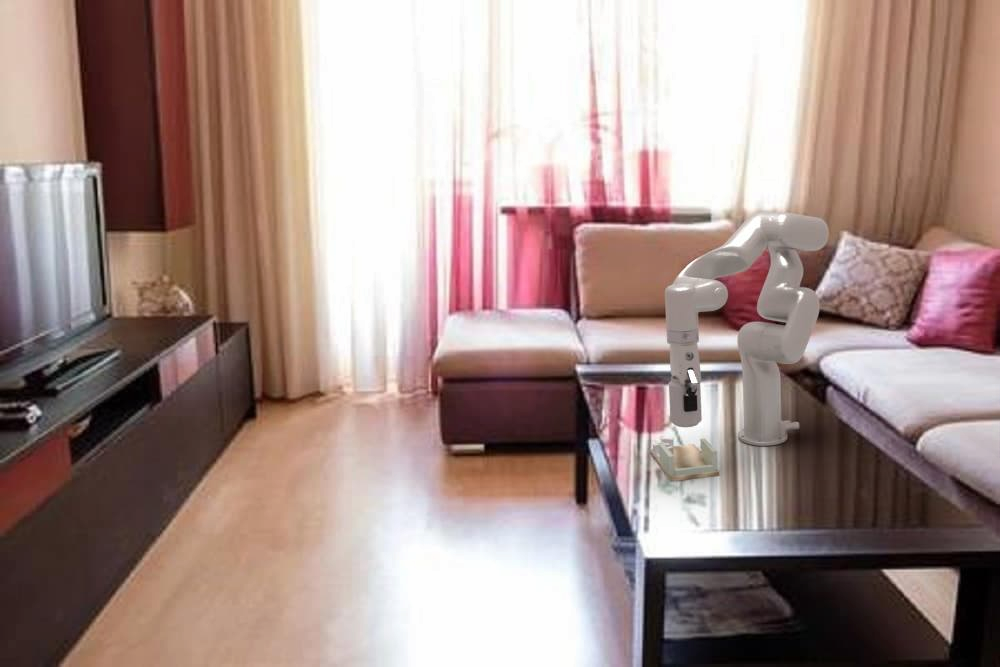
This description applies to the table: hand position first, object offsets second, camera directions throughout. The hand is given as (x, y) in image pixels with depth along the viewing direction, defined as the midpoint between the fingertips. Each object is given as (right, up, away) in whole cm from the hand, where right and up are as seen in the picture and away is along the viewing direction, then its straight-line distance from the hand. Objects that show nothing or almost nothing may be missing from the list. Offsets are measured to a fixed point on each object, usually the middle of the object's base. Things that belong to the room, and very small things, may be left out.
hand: (685, 405), depth 216 cm
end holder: (+1, -15, +3) cm, 16 cm away
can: (0, -5, +1) cm, 5 cm away
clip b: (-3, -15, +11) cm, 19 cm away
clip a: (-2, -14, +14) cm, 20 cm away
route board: (+1, -15, +8) cm, 17 cm away
